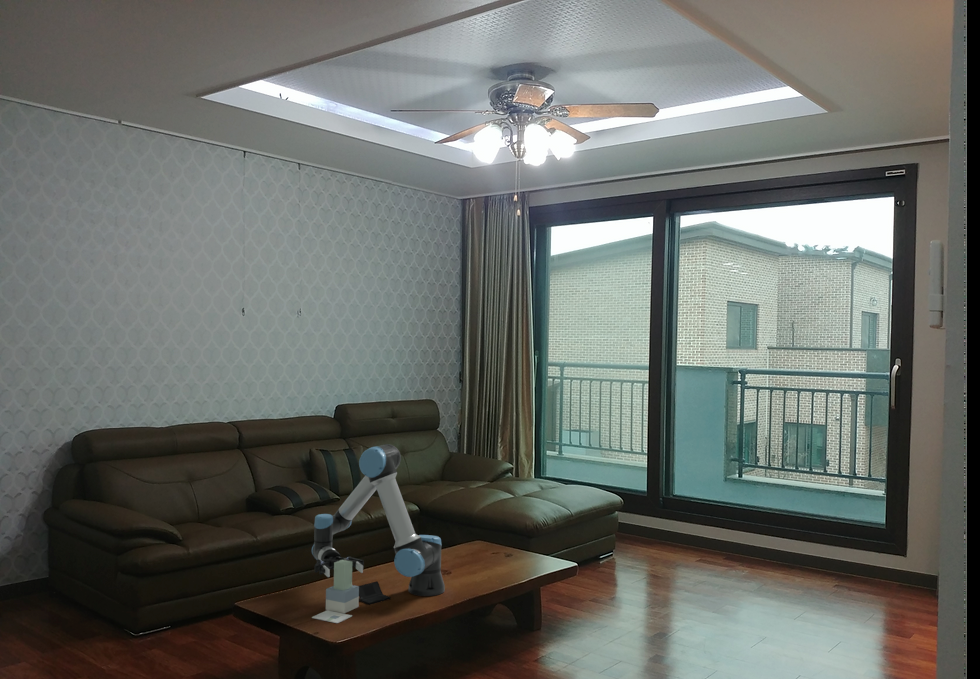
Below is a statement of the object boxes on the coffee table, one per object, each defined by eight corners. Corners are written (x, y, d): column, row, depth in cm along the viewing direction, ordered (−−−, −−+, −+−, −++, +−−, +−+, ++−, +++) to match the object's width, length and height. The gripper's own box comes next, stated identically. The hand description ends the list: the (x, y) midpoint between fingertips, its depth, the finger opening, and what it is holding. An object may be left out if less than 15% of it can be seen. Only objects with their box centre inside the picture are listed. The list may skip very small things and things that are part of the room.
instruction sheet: (352, 616, 294) (352, 615, 294) (337, 623, 286) (337, 622, 286) (327, 611, 300) (327, 609, 300) (311, 617, 292) (311, 616, 292)
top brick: (351, 587, 304) (352, 561, 304) (344, 590, 300) (344, 564, 300) (341, 585, 306) (342, 559, 306) (333, 588, 302) (334, 562, 302)
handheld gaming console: (373, 602, 307) (364, 578, 311) (361, 610, 309) (353, 587, 314) (393, 599, 316) (384, 576, 320) (381, 607, 318) (373, 584, 323)
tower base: (358, 606, 305) (358, 586, 305) (344, 613, 297) (344, 592, 297) (340, 603, 309) (340, 582, 309) (325, 609, 301) (326, 588, 301)
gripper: (358, 563, 325) (375, 577, 306) (299, 570, 313) (313, 585, 295) (358, 545, 325) (376, 558, 306) (299, 552, 313) (314, 565, 295)
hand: (345, 571), depth 300 cm, fingers open, 13 cm apart
